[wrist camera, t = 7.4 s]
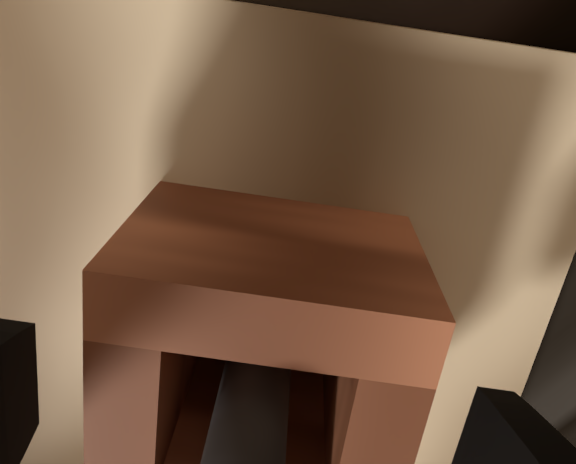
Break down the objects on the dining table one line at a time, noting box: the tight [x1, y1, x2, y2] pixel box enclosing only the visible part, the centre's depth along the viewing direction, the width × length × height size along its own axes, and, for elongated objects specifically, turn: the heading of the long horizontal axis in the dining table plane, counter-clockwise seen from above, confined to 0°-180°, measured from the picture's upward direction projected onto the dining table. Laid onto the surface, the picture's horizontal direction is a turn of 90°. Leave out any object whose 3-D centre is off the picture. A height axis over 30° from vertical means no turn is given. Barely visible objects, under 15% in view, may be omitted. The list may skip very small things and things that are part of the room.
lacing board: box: [0, 0, 576, 464], centre depth 10 cm, size 12×12×6 cm
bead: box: [82, 181, 456, 464], centre depth 10 cm, size 5×5×4 cm
